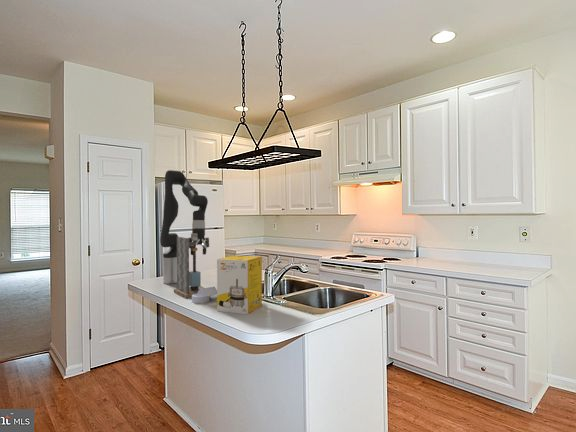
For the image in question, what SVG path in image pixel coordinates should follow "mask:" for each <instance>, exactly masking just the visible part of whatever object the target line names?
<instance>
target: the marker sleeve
mask: <svg viewBox="0 0 576 432" xmlns="http://www.w3.org/2000/svg"><path fill="white" fill-rule="evenodd" d="M201 275H202V274H201V271H198V270H196V272H193V270H191V271H189V287H195V286H201V280H202V279H201ZM201 287H202V286H201Z"/></svg>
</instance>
